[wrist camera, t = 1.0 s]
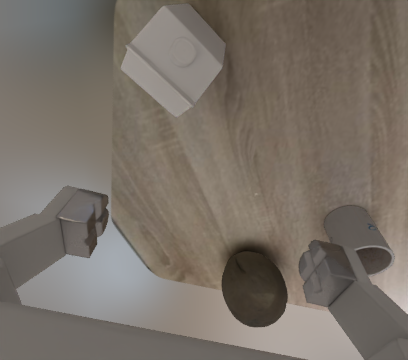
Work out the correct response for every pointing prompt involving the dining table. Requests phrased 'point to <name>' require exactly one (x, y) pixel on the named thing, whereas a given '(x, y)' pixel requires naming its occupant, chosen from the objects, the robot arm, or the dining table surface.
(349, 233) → the mug
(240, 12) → the dining table surface
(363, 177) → the dining table surface
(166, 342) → the robot arm
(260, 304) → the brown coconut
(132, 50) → the milk carton
